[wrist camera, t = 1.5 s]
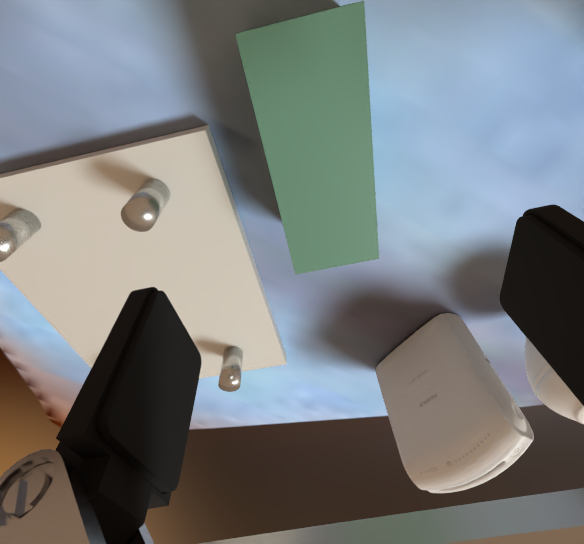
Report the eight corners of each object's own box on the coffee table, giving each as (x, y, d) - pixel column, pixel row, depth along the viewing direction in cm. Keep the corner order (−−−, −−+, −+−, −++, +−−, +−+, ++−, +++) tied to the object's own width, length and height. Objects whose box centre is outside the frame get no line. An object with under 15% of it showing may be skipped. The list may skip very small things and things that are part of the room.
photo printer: (442, 304, 30) (523, 442, 20) (473, 321, 32) (562, 458, 22) (367, 366, 35) (403, 501, 25) (397, 379, 37) (441, 511, 27)
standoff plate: (208, 124, 20) (193, 148, 17) (286, 354, 33) (287, 396, 30) (-54, 187, 22) (-122, 221, 18) (118, 382, 35) (99, 425, 31)
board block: (339, 6, 17) (363, 1, 13) (358, 211, 24) (378, 258, 20) (245, 30, 18) (234, 34, 13) (291, 225, 25) (295, 274, 20)
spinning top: (594, 280, 29) (751, 408, 19) (538, 339, 34) (643, 467, 24) (517, 267, 28) (644, 396, 18) (470, 330, 32) (551, 460, 23)
